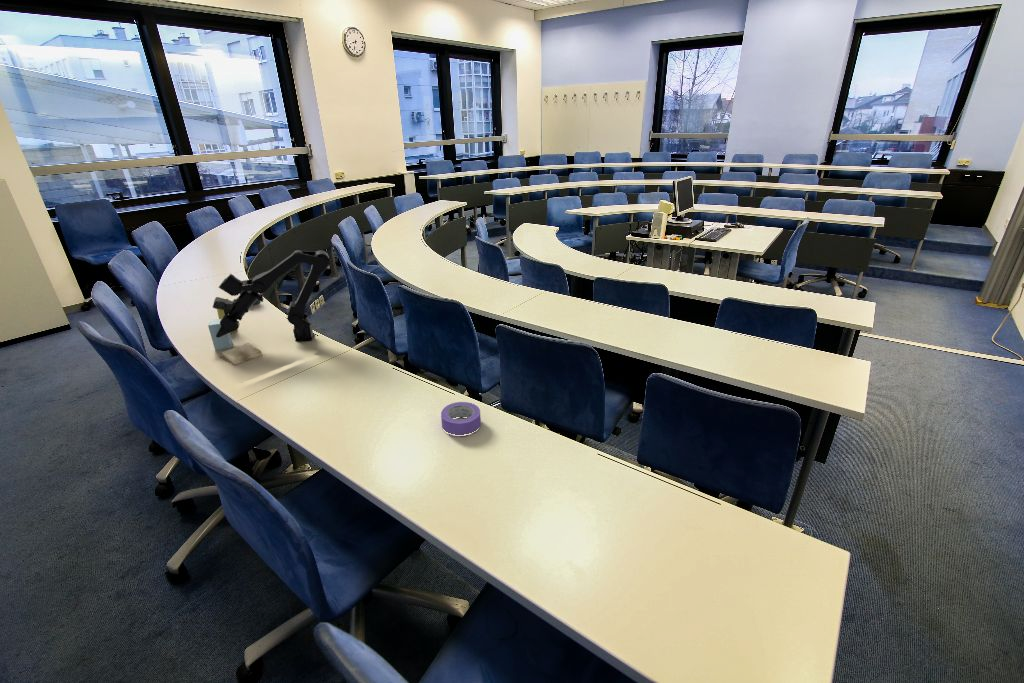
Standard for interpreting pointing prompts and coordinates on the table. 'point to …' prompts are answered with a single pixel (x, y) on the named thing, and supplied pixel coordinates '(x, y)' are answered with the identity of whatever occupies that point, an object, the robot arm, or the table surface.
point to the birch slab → (241, 353)
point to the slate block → (222, 341)
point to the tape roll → (463, 424)
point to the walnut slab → (231, 362)
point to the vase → (222, 314)
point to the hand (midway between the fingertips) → (218, 332)
